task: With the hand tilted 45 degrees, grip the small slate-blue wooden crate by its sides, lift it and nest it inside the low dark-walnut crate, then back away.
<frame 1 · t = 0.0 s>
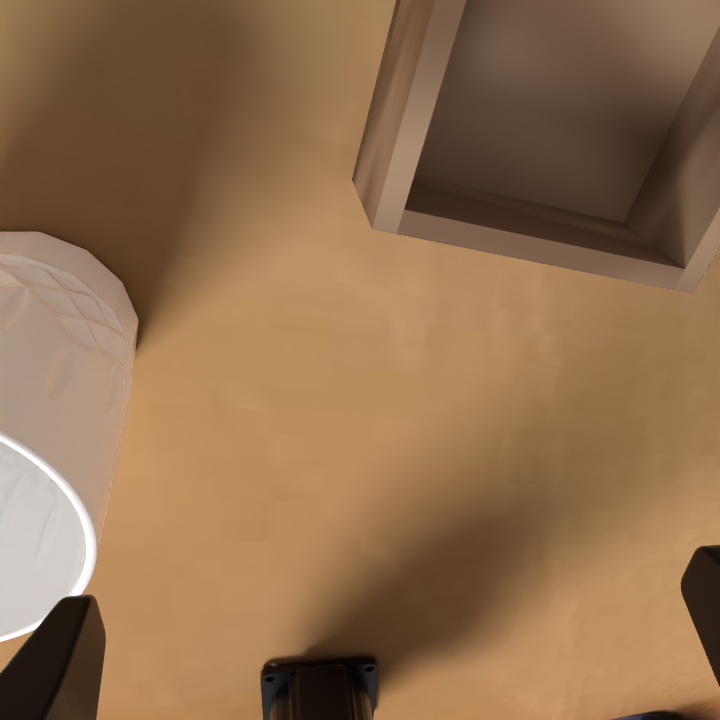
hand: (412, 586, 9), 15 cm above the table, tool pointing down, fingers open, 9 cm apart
white cup: (40, 316, 22), on the table
big crate: (555, 50, 19), on the table
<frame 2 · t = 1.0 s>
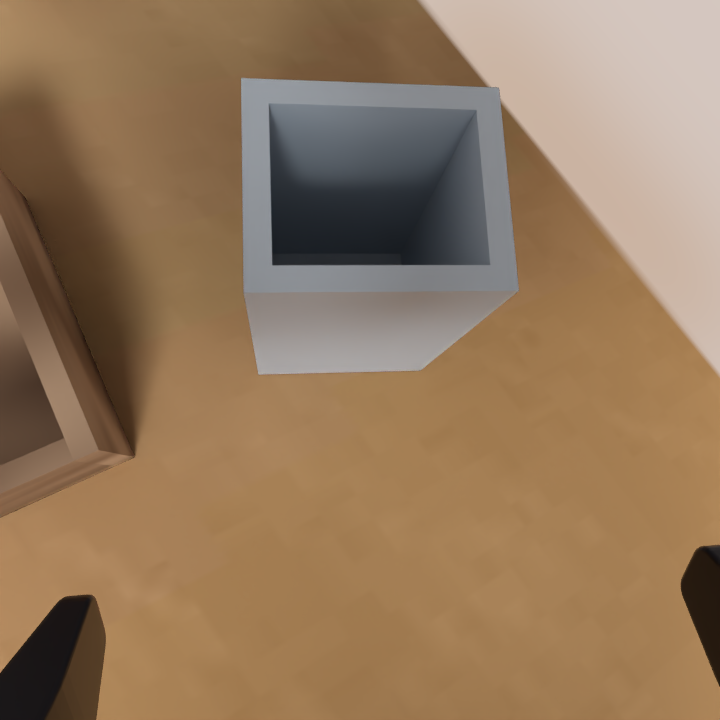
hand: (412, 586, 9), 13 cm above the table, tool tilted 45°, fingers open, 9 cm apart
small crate: (338, 307, 24), on the table
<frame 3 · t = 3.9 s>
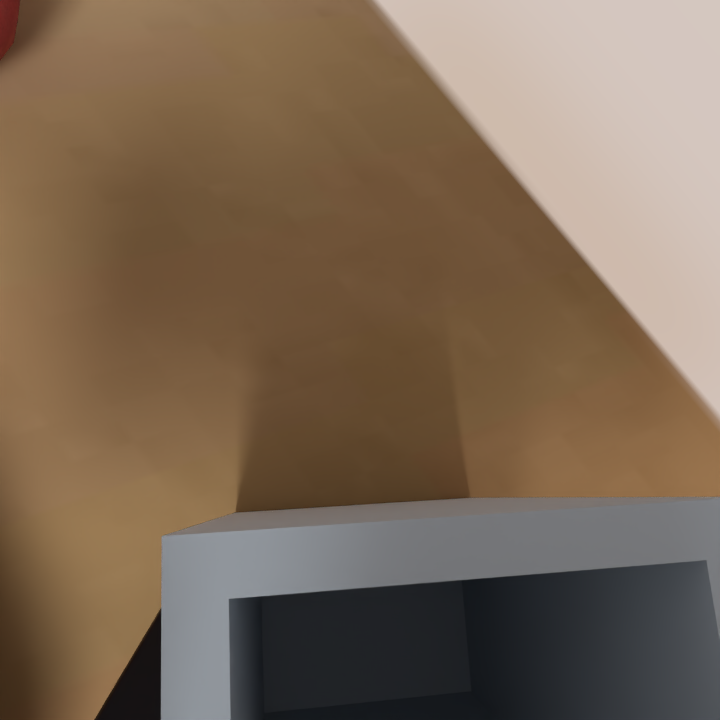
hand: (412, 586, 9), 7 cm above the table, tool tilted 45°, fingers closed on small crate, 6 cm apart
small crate: (361, 609, 15), on the table, touching gripper
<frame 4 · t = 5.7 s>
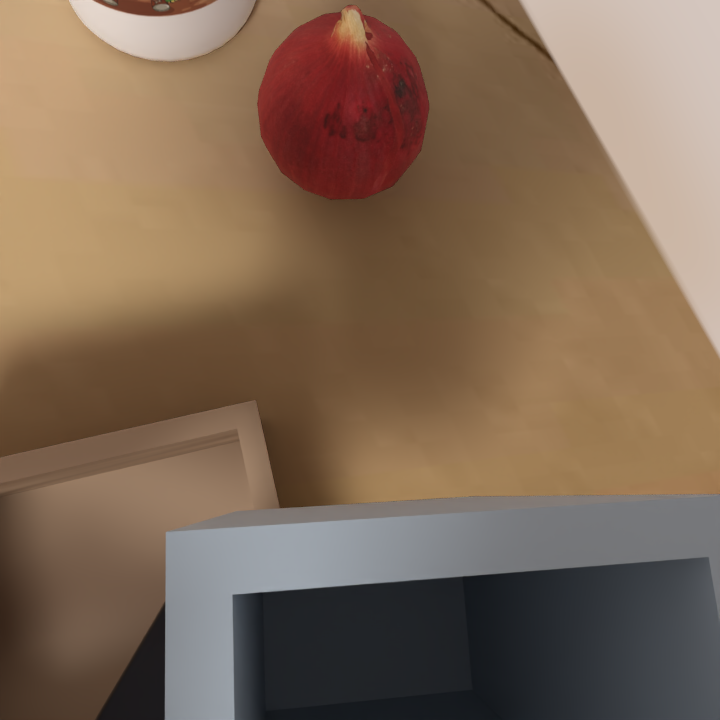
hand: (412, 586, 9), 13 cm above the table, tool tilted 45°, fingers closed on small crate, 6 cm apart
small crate: (363, 608, 15), point 7 cm above the table, touching gripper
big crate: (139, 604, 21), on the table
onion: (334, 169, 26), on the table
when the fingers open (9 cm above the table, at t = 7.8 s): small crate drops 1 cm, resting on big crate.
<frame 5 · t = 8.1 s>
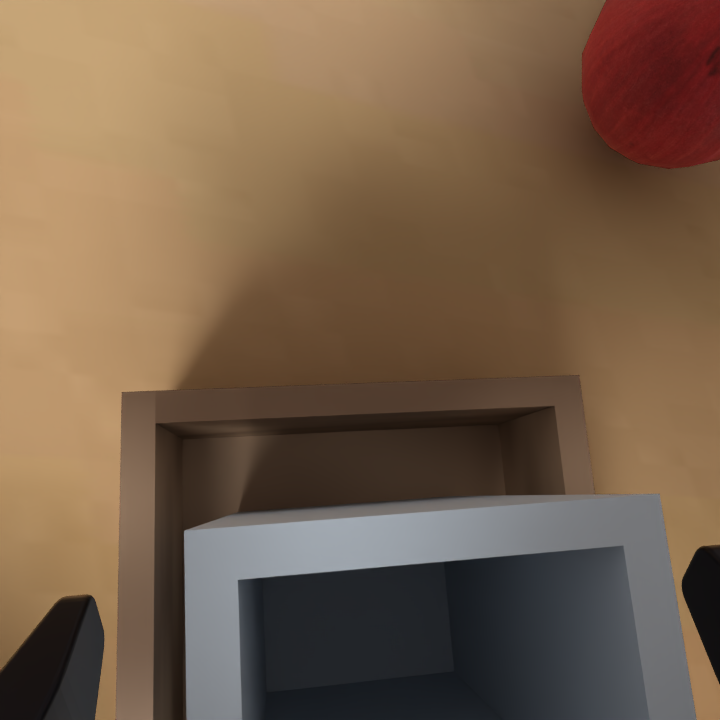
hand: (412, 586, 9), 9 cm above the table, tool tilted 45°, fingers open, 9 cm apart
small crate: (354, 599, 17), point 1 cm above the table, touching big crate
big crate: (352, 595, 18), on the table
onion: (618, 136, 22), on the table
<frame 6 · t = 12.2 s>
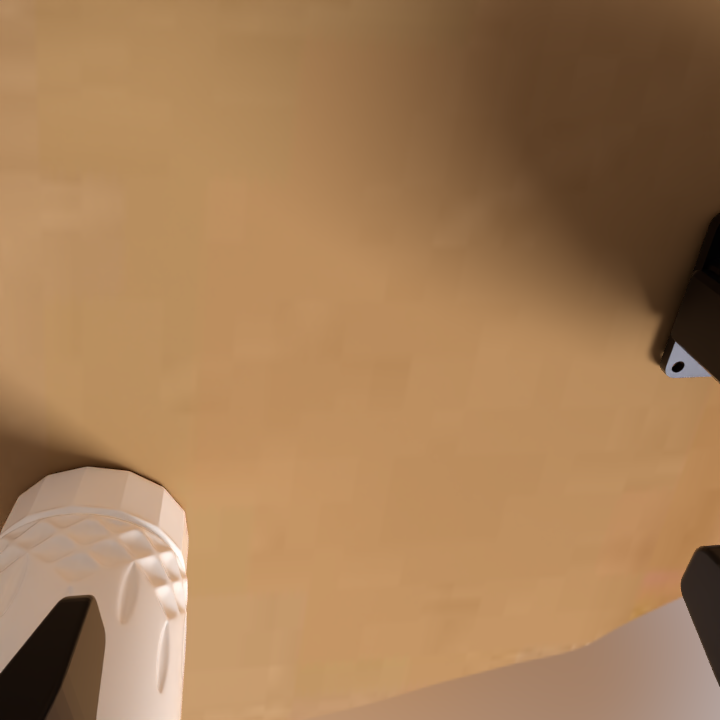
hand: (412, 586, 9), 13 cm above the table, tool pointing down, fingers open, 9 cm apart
white cup: (104, 523, 26), on the table
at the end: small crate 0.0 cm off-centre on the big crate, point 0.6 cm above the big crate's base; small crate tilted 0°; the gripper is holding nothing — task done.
